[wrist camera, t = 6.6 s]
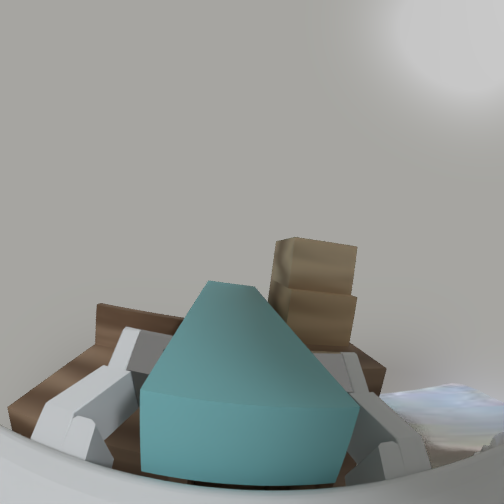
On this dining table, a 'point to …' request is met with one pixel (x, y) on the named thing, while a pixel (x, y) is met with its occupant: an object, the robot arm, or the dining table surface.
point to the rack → (117, 318)
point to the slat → (242, 399)
